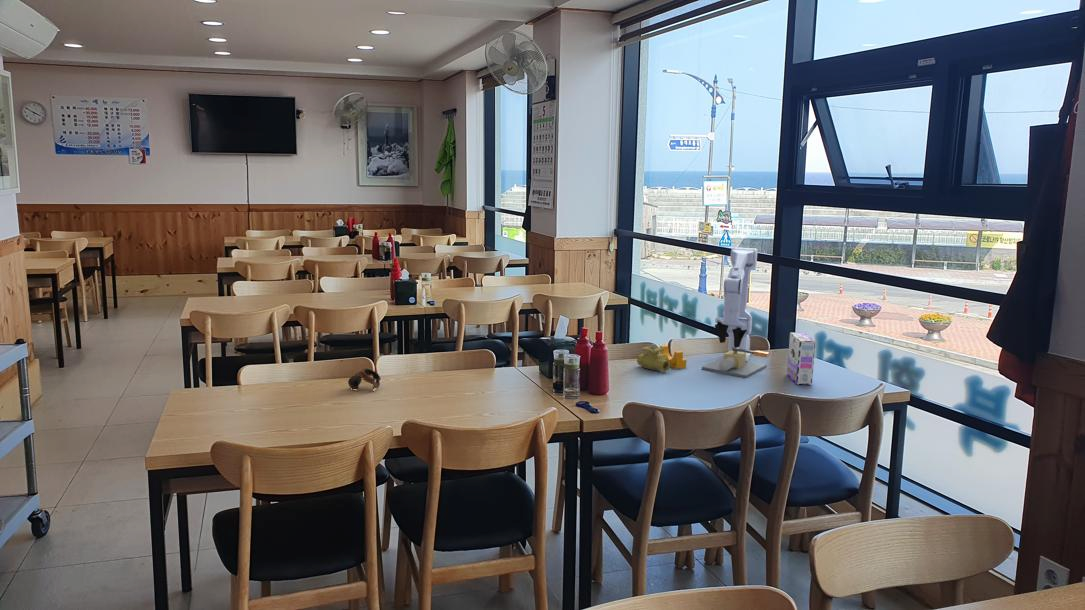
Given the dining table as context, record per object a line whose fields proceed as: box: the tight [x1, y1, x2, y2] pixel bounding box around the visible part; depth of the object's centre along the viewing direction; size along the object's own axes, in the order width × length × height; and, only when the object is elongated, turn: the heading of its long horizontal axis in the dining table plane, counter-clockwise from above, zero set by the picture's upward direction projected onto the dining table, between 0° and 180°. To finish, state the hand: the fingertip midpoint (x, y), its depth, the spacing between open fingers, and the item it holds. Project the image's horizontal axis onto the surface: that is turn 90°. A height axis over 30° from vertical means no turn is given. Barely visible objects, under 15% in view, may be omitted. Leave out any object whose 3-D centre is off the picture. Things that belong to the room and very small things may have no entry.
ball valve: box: [636, 343, 671, 373], centre depth 312 cm, size 13×10×10 cm
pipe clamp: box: [659, 344, 687, 370], centre depth 319 cm, size 12×4×6 cm, turn 25°
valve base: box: [701, 350, 767, 379], centre depth 314 cm, size 19×18×7 cm
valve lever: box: [732, 347, 770, 358], centre depth 310 cm, size 14×3×1 cm, turn 53°
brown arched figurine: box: [347, 368, 382, 389], centre depth 280 cm, size 12×10×8 cm
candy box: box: [786, 332, 817, 386], centre depth 299 cm, size 14×6×16 cm, turn 178°
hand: (729, 344), depth 311 cm, fingers open, 7 cm apart
